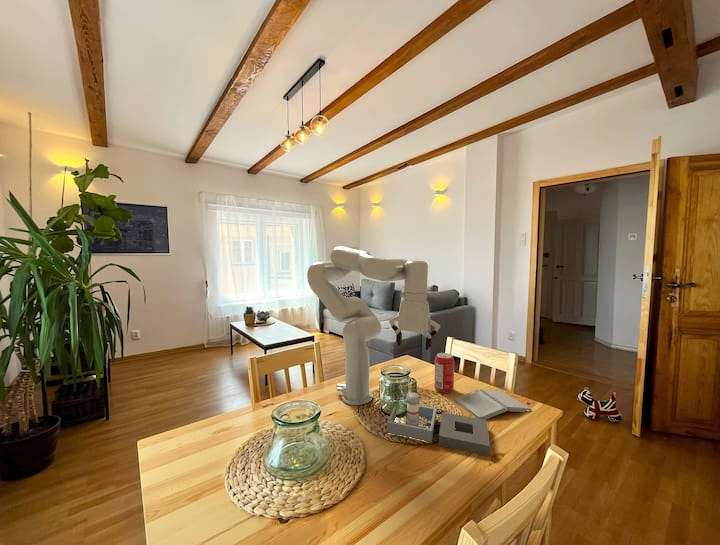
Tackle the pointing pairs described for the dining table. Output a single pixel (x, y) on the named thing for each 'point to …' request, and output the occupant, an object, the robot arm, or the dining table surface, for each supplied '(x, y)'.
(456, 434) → the grey flat square block
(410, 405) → the cylinder
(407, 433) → the parts tray
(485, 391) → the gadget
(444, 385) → the soda can
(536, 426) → the dining table surface
